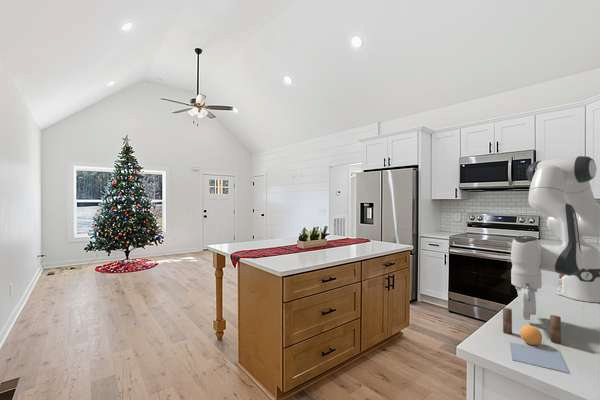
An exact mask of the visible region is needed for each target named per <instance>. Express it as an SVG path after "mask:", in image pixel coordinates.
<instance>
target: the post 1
mask: <svg viewBox="0 0 600 400" xmlns="http://www.w3.org/2000/svg"><path fill="white" fill-rule="evenodd" d="M502 333H503V334H507V335H513V309H511V308H509V307H503V308H502Z"/></svg>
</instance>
